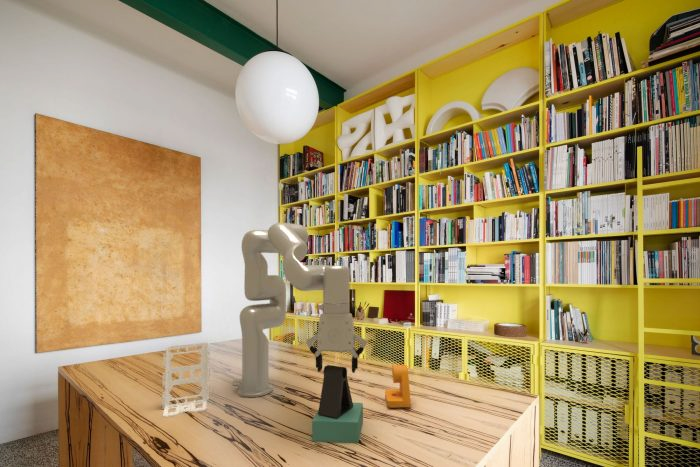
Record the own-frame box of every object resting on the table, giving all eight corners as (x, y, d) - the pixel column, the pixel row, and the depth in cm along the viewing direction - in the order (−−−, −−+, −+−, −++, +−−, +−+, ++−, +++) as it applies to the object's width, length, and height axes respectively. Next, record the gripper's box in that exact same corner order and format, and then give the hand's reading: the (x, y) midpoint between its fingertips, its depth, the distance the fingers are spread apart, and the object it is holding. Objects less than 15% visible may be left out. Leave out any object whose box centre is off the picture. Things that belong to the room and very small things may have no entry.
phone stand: (336, 419, 91) (335, 372, 92) (317, 415, 94) (317, 369, 95) (353, 407, 98) (352, 363, 100) (335, 403, 101) (334, 361, 103)
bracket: (385, 397, 119) (383, 361, 120) (406, 397, 119) (404, 361, 120) (387, 410, 108) (386, 370, 110) (410, 409, 108) (409, 370, 109)
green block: (312, 441, 90) (312, 420, 90) (322, 419, 103) (322, 401, 103) (358, 442, 88) (357, 422, 89) (363, 420, 101) (362, 402, 102)
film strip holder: (159, 418, 106) (161, 351, 108) (163, 403, 119) (165, 343, 121) (209, 410, 112) (210, 346, 114) (208, 396, 125) (209, 339, 127)
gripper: (303, 310, 96) (303, 374, 95) (365, 311, 94) (366, 376, 92) (309, 307, 104) (310, 366, 102) (367, 307, 101) (368, 367, 100)
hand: (336, 370), depth 97 cm, fingers open, 9 cm apart
